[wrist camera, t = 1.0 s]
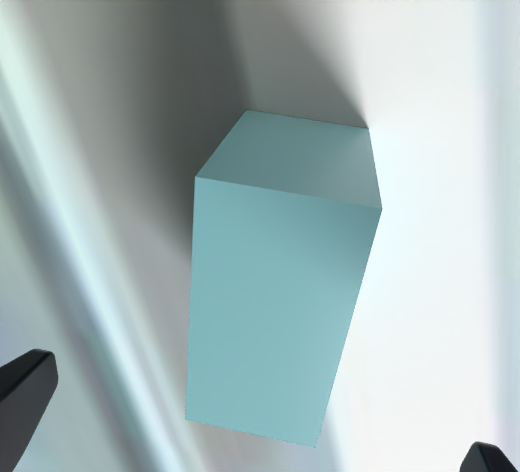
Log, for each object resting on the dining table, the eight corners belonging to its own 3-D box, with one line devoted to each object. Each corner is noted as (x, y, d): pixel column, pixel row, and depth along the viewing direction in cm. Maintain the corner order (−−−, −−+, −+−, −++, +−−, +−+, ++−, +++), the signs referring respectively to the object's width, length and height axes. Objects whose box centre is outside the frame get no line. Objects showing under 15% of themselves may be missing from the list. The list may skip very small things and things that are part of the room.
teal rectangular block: (368, 127, 14) (382, 208, 9) (323, 318, 18) (315, 447, 13) (246, 108, 15) (194, 176, 10) (228, 299, 19) (185, 419, 14)
